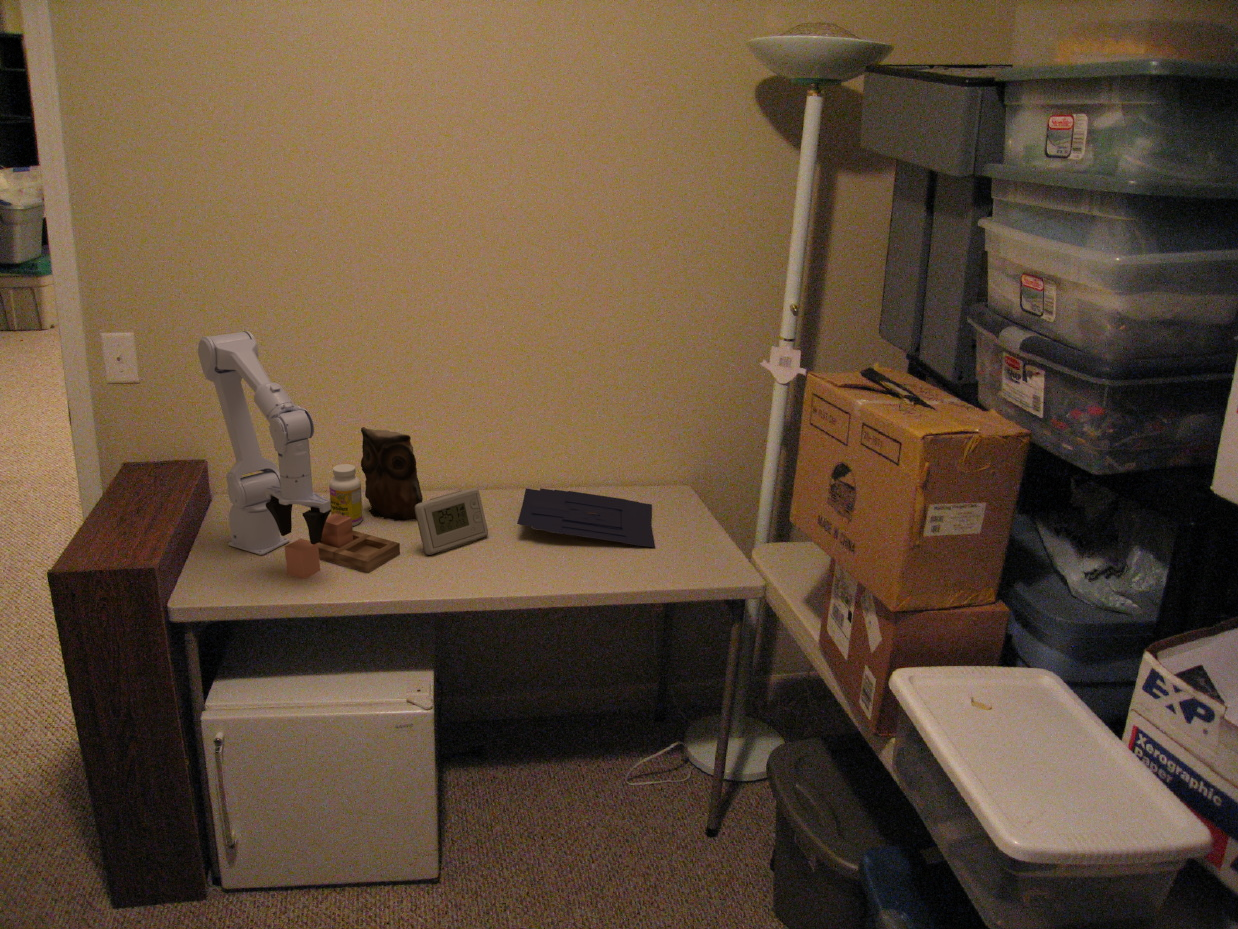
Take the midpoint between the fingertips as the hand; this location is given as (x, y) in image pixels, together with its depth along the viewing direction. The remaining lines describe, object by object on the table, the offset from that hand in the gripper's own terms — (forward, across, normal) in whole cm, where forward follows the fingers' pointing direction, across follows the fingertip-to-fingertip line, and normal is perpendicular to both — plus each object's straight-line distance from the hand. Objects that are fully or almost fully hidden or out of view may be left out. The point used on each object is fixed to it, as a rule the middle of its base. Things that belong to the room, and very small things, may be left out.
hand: (301, 538), depth 187 cm
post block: (+7, 0, 0) cm, 7 cm away
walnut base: (+7, +3, +11) cm, 14 cm away
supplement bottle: (+8, -9, +23) cm, 26 cm away
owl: (+8, -3, +34) cm, 35 cm away
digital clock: (+8, +17, +26) cm, 32 cm away
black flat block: (+8, +37, +50) cm, 63 cm away
